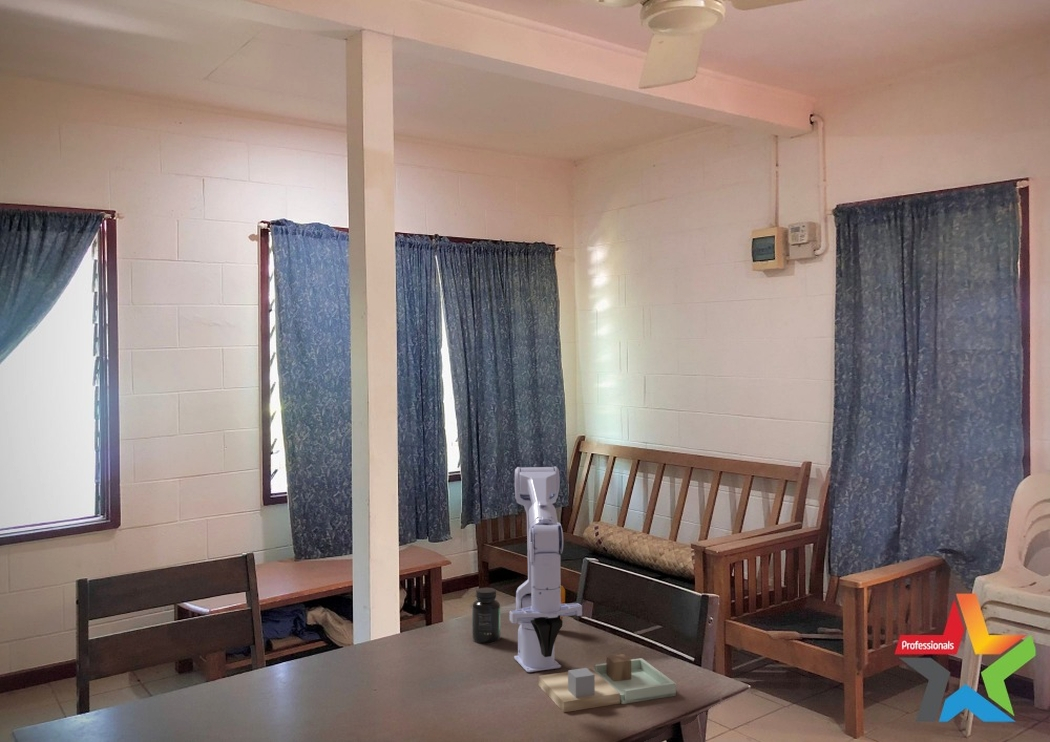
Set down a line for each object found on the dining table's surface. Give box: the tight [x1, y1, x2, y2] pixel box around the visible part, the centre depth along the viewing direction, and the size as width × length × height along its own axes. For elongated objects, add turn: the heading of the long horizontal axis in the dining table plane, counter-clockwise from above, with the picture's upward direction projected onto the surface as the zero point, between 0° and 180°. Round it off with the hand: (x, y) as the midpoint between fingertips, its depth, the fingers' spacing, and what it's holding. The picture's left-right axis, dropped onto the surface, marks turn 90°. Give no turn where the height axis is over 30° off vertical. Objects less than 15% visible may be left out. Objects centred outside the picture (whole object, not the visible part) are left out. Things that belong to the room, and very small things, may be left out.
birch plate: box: [538, 668, 621, 713], centre depth 172 cm, size 14×12×2 cm
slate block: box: [567, 667, 595, 698], centre depth 168 cm, size 4×4×4 cm
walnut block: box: [605, 653, 632, 681], centre depth 180 cm, size 4×4×4 cm
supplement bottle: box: [471, 587, 502, 645], centre depth 205 cm, size 7×7×12 cm
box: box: [594, 657, 677, 705], centre depth 176 cm, size 15×12×2 cm
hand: (546, 655), depth 165 cm, fingers closed
